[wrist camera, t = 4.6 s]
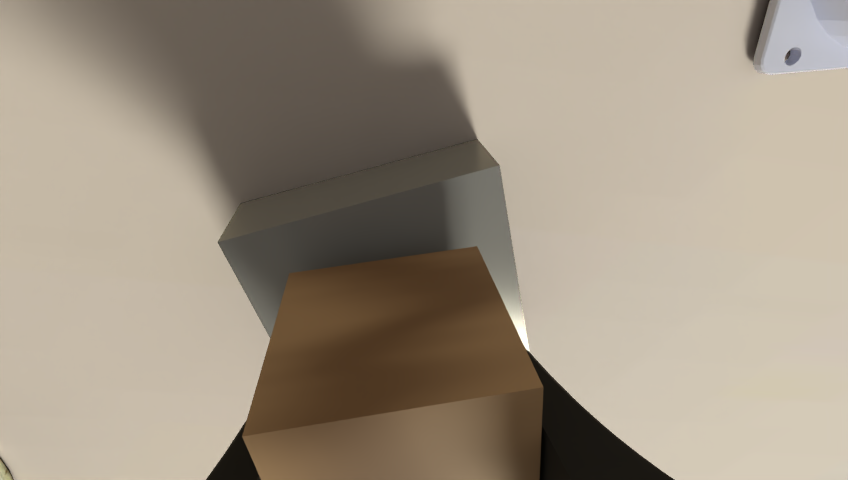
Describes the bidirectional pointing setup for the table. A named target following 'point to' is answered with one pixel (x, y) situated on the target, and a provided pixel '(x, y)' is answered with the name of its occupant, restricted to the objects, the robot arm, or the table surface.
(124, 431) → the table surface
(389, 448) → the walnut cube
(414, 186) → the slate slab
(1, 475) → the coffee can
